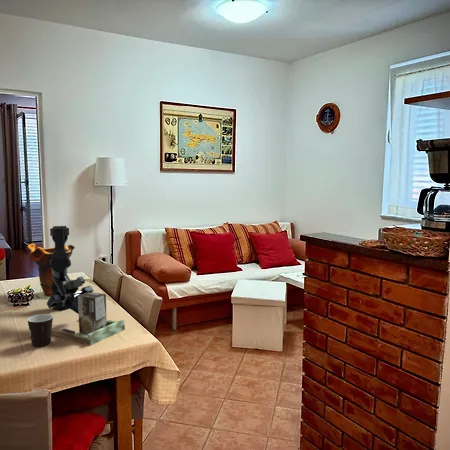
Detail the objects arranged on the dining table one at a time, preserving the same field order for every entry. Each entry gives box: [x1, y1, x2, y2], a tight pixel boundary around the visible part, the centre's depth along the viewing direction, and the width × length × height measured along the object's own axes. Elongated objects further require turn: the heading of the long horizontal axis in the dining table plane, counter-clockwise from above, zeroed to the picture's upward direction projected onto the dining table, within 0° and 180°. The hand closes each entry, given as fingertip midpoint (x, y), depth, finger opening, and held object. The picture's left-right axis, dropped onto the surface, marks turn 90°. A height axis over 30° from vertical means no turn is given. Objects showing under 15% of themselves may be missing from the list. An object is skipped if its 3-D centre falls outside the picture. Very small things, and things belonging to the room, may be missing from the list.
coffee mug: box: [26, 313, 54, 348], centre depth 153 cm, size 12×9×10 cm
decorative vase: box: [27, 243, 76, 300], centre depth 217 cm, size 21×23×28 cm
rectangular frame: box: [51, 319, 126, 346], centre depth 167 cm, size 18×24×4 cm
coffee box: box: [78, 291, 108, 336], centre depth 164 cm, size 9×6×16 cm
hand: (80, 313), depth 169 cm, fingers closed
